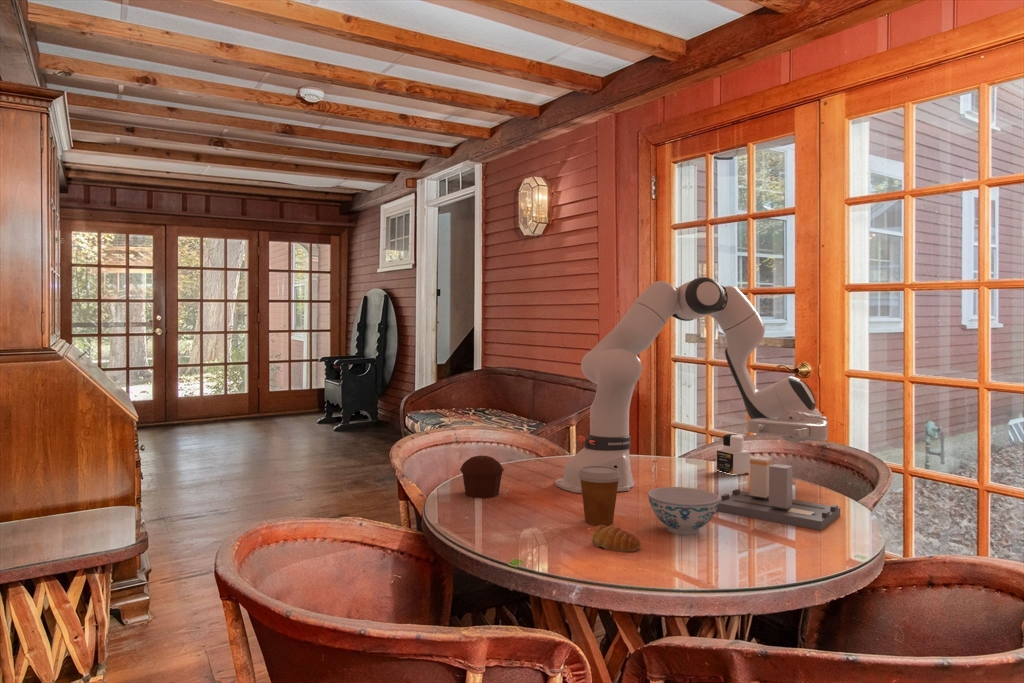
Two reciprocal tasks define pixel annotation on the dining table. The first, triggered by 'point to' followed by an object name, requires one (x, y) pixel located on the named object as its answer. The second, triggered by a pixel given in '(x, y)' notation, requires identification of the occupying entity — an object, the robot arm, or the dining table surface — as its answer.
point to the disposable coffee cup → (599, 493)
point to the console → (779, 510)
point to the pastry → (615, 539)
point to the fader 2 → (780, 486)
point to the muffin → (482, 477)
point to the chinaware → (683, 508)
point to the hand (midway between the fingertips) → (778, 431)
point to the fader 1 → (759, 477)
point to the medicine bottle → (733, 455)
